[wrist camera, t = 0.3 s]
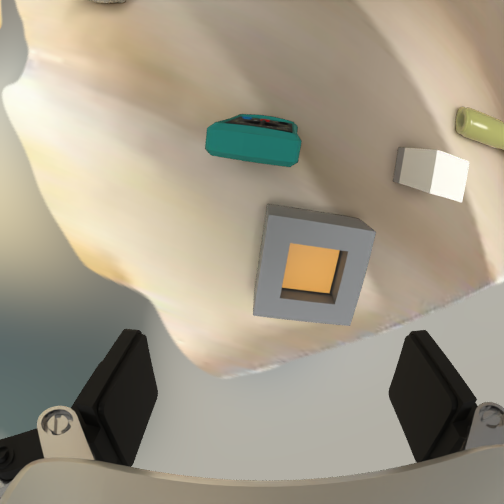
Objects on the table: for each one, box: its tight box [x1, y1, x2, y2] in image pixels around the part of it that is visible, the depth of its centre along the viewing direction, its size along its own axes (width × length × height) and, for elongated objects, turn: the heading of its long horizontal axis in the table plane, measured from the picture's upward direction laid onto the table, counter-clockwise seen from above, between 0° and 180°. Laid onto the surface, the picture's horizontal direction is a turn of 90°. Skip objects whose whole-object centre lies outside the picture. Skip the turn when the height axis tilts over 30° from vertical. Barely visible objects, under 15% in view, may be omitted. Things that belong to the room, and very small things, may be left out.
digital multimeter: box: [205, 114, 301, 167], centre depth 29 cm, size 7×15×3 cm
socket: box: [253, 204, 376, 326], centre depth 38 cm, size 12×12×6 cm
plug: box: [393, 147, 469, 202], centre depth 32 cm, size 5×5×10 cm
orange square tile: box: [282, 243, 340, 293], centre depth 37 cm, size 6×6×1 cm
